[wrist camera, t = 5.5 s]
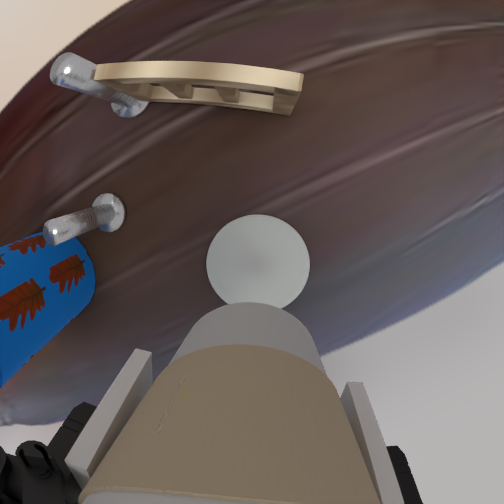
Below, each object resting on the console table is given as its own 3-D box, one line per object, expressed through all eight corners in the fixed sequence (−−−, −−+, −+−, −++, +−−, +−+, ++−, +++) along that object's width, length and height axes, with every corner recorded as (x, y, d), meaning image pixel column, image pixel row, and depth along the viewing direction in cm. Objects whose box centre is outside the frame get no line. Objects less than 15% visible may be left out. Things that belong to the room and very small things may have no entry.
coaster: (202, 302, 31) (201, 304, 31) (213, 206, 28) (213, 207, 28) (297, 318, 31) (297, 319, 31) (318, 224, 28) (319, 225, 28)
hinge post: (110, 118, 26) (34, 101, 15) (118, 78, 25) (48, 44, 14) (148, 118, 26) (80, 96, 15) (156, 77, 25) (96, 35, 14)
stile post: (93, 228, 30) (35, 253, 20) (95, 191, 28) (34, 204, 19) (125, 233, 30) (71, 262, 20) (127, 195, 28) (70, 210, 19)
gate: (141, 101, 25) (93, 80, 16) (143, 89, 25) (97, 64, 16) (290, 115, 25) (301, 91, 16) (292, 103, 24) (303, 74, 16)
